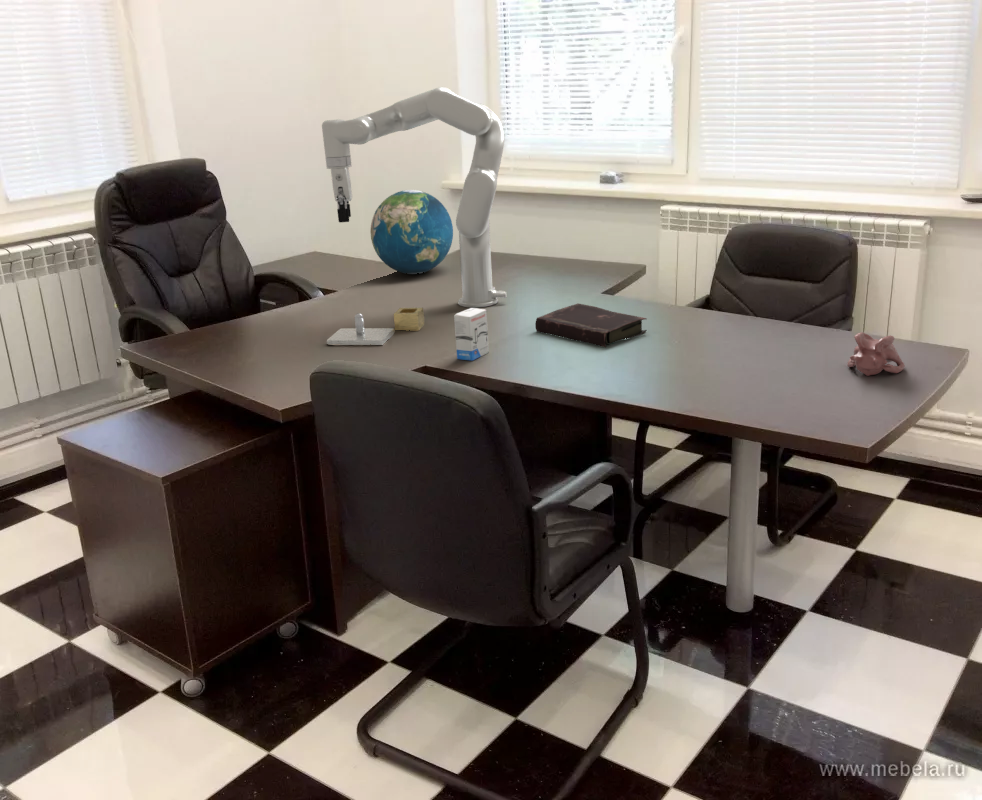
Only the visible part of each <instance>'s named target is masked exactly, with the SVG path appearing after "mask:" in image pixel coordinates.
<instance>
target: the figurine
mask: <svg viewBox="0 0 982 800" xmlns="http://www.w3.org/2000/svg"><path fill="white" fill-rule="evenodd" d="M853 338H854V340H855V342H856V346H855V347H854V349H853V355H850V357H849V360H848V361H847V367H848V368H853V367H856V369H857V370H858V371H859V372H861V374H864V375H865V376H867V377H870V376H874V375H878V374H880V373H881V372H882V371H883V370H884V371H885V372H889V373H892V374H898V373H900V372H902V371H904V369H905V368H906V365H905V362H903V360H902V357H900V355H899V353H898V351H897V349H896V347H895V345H894V341H895V337H894V336H893V335H886V336H884V337H881V338H880V339H878V338H873V337H872V336H871V335H869V334H867V333H865V332H863V331H862V332H858V333H856V334H855V335H853ZM891 362H893V363H895V364H896V365H893V364H890V363H891Z"/></svg>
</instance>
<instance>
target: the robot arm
mask: <svg viewBox="0 0 982 800" xmlns="http://www.w3.org/2000/svg"><path fill="white" fill-rule="evenodd" d="M438 120H439V121H440V122H443V123H444V124H447V125H449V126H451V127H453V128H455V129H457V130H460V131H462V132H464V133H466V134H468V135H471V136H474V137H475V145H474V150H473V155H472V160H471V164H470V168H469V171H468V173H467V175H466V177H465V179H464V182H463V183H464V184H463V187H462V192H461V195H460V196H461V197H460V201H459V205H458V209H457V213H456V219H455V226H456V228H457V231H458V239H459V240H458V243H459V259H460V272H461V273H460V274H461V290H462V297H460V298H459V299H457V302H458V303H457V304H458V305H459V306H461V307H464V308H485V307H490V306H494V305H496V304H497V303H499V298H500V299H505V298H507V295H508V294H507V291H504V290H497V289H496V287H495V286H493V274H492V269H493V268H492V256H491V255H492V253H491V251H492V250H491V232H490V231H491V230H490V227H491V226H490V224H491V223H490V216H491V213H492V212H491V211H492V209H493V205H494V199H495V196H496V193H497V186H498V177H499V170H500V166H501V163H502V162H501V161H502V157H503V152H504V147H505V133H504V132H505V131H504V128H503V125H502V122H501V120H500V119H499V117H498V115H497V114H496V113H495V112H494V111H493V110H492V109H491V108H490V107H488V106H487V105H485V104H482V103H474V102H473V101H470V100H469V99H466V98H464V97H462V96H460V95H457V94H456V93H455V92H453V90H451V89H450V88H448V87H446V86H438V87H436V88H433V89H430V90H428V91H427V90H426V91H425V92H422V93H419V94H416V95H413V96H410V97H407V98H404V99H402V100H399V101H397V102H394V103H393V104H392V105H389V106H387V107H384V108H382V109H379V110H377V111H374V112H371V113H367V114H365V115H362V116H359V117H355V118H353V119H348V120H345V119H329V120H325V121H323V122H322V124H321V130H322V140H323V146H324V147H323V148H324V155H325V166H326V169H328V170H330V174H331V175H330V177H331V183H332V191H333V196H334V200H335V202H337V203H336V204H337V218H338V220H337V221H338V222H339V223H349V222H350V217H352V213H351V204H350V203H349V202H351V201H352V199H353V192H352V190H353V189H352V182H351V176H350V175H351V174H350V170H349V168H351V167H352V165H353V164H352V158H351V148H350V145H364V144H367V143H369V142H371V141H374V140H376V139H379V138H382V137H383V136H384V137H385V136H387V135H390V134H393V133H396V132H402V131H403V132H404V131H409V130H413V129H415V128H418V127H420V126H423V125H427V124H429V123H431V122H435V121H438Z"/></svg>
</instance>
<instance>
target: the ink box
mask: <svg viewBox="0 0 982 800" xmlns="http://www.w3.org/2000/svg"><path fill="white" fill-rule="evenodd" d="M453 321H454V333H455V346H456V347H455V348H456V358H457V360H463V361H464V360H465V361H475V360H477V359H479V358H481V357H483V356H485V355H486V354H489V351H490V350H489V334H488V333H489V332H488V331H489V330H488V314H487V309H484V308H479V307H469V308H467V309H464V310H462V311H460V312H457V313H455V314H454V315H453Z"/></svg>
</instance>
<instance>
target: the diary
mask: <svg viewBox="0 0 982 800" xmlns="http://www.w3.org/2000/svg"><path fill="white" fill-rule="evenodd" d="M647 319H648V318H646V317H641V316H637V315H632V314H627V313H623V312H622V313H621V312H616V311H611V310H607V309H604V308H601V307H598V306H594V305H589V304H585V303H584V304H583V303H575V304H572V305H568V306H565V307H562V308H559V309H556V310H553V311H551V312H549V313H547V314H544V315H541V316H538V317H536V320H535V330H536V332H538V333H541V332H542V334H546V333H547V335H550V334H552V336H555V335H556V337H559V336H560V338H563V337H564V339H567V338H568V340H571V339H572V341H576V340H577V342H580V341H581V343H585V344H586V343H587V344H590V345H594V346H598V347H602V348H606V347H607V345H608V346H609V345H611V344H615V343H616V342H617V343H618V342H619V341H623V340H622V339H625V338H626V339H627V338H630V339H632V338H635V337H638V336H640V335H643V334H645V333H646V332H647V329H642V327H643V326H642V325H643V323H642V322H643V321H644V320H647ZM627 340H628V339H627Z"/></svg>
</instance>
